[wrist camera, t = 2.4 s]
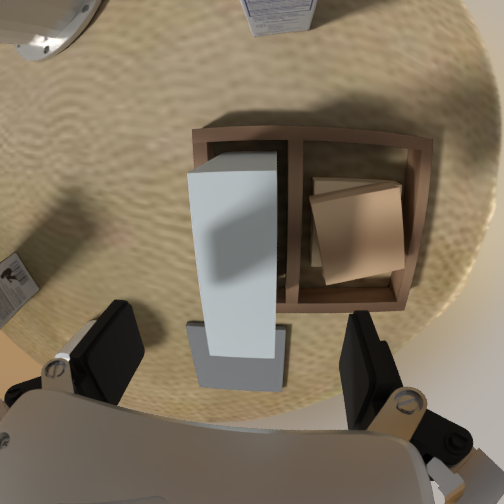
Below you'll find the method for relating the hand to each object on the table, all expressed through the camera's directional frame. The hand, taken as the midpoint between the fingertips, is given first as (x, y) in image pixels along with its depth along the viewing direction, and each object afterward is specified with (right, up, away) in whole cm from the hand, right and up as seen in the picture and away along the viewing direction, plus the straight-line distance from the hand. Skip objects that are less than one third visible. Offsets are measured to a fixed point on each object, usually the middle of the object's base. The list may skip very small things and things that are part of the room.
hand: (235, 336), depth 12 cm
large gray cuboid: (+1, +6, +12) cm, 14 cm away
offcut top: (+9, +5, +10) cm, 14 cm away
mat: (-1, -8, +19) cm, 21 cm away
